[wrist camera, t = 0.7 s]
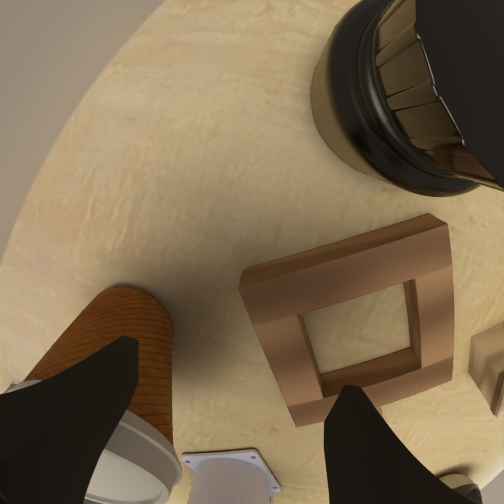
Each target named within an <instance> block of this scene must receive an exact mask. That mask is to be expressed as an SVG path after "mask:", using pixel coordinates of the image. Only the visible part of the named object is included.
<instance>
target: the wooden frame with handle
mask: <svg viewBox="0 0 504 504" xmlns="http://www.w3.org/2000/svg"><path fill="white" fill-rule="evenodd" d="M403 282H404V287H405V295H406V303H407V312H408V322H409V332H410V345H411V347H410V348H407V349H404V350H401V351H398V352H396V353H393V354H390V355H387V356H383V357H380V358H377V359H374V360H371V361H368V362H364V363H361V364H358V365H354V366H351V367H347V368H344V369H340V370H337V371H333V372H329V373H325V374H321V375H320V373H319V370H318V366H317V363H316V360H315V357H314V353H313V350H312V347H311V344H310V341H309V337H308V334H307V331H306V328H305V325H304V321H303V318H302V315H301V313H305V312H309V311H312V310H316V309H319V308H323V307H326V306H330V305H333V304H336V303H340V302H343V301H347V300H350V299H353V298H356V297H360V296H363V295H366V294H369V293H372V292H375V291H379V290H382V289H385V288H388V287H391V286H394V285H397V284H400V283H403ZM238 289H239V291H240V294H241V296H242V299H243V301H244V304H245V306H246V309H247V311H248V314H249V316H250V319H251V321H252V324H253V326H254V328H255V331H256V333H257V336H258V338H259V341H260V343H261V346H262V348H263V350H264V353H265V355H266V358H267V360H268V362H269V365H270V367H271V370H272V372H273V374H274V377H275V379H276V381H277V384H278V386H279V388H280V391H281V393H282V395H283V398H284V400H285V402H286V405H287V407H288V409H289V412H290V414H291V416H292V419H293V421H294V423H295V426H296V427H300V426H305V425H309V424H314V423H319V422H323V421H325V419H326V417H327V416H328V414H329V412H330V410H331V408H332V407H333V405H334V403H335V401H336V399H337V397H338V396H339V394H340V392H341V390H342V388H343V386H344V385H352V386H360V387H361V388H362V390H363V391H364V392H365V394H366V395H367V397H368V398H369V399H370V401H371V402H372V404H373V405H374V406H375V408H376V409H377V411H378V412H379V413H380V415H381V416H382V414H381V406H382V405H385V404H389V403H392V402H395V401H398V400H401V399H403V398H406V397H409V396H412V395H415V394H418V393H420V392H423V391H426V390H428V389H431V388H433V387H436V386H438V385H441V384H443V383H446V382H448V381H450V380H452V370H453V353H454V289H453V271H452V258H451V248H450V238H449V230H448V224H447V223H445V222H443V221H442V220H440V219H438V218H436V217H435V216H433V215H431V214H426V215H423V216H419V217H416V218H413V219H410V220H407V221H404V222H400V223H397V224H394V225H391V226H387V227H384V228H381V229H378V230H375V231H371V232H368V233H365V234H362V235H358V236H355V237H352V238H348V239H345V240H342V241H339V242H335V243H332V244H329V245H325V246H322V247H319V248H315V249H312V250H309V251H305V252H302V253H299V254H295V255H292V256H289V257H285V258H282V259H279V260H275V261H272V262H268V263H265V264H262V265H258V266H255V267H251V268H248V269H245V270H243V272H242V276H241V279H240V283H239V287H238Z"/></svg>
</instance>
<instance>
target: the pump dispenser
mask: <svg viewBox="0 0 504 504" xmlns="http://www.w3.org/2000/svg"><path fill="white" fill-rule="evenodd" d="M438 479H440V480H441V481H442V482H443V483H445V484H446V485H447V486H449V487H450V488H452V489H453V490H455V491H456V492H458V493H459V494H461V495H462V496H464V497H466V498H467V499H469V500H471V501H473V502H475V503H477V504H483V503H482V498H481V493H480V490H479V487H478V485H477V484H474V483H473V481H472V480H471V479H470V478H468V477H467V476H465V475H461V474H450V475H445V476H442V477H440V478H438Z"/></svg>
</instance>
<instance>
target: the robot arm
mask: <svg viewBox="0 0 504 504" xmlns="http://www.w3.org/2000/svg"><path fill="white" fill-rule="evenodd" d="M138 382H139V340H137V339H134V338H131V337H128V336H124V335H122V336H120V337H119V338H117V339H115V340H114V341H112V342H111V343H109V344H108V345H106V346H104V347H103V348H101V349H100V350H98V351H97V352H95V353H93V354H92V355H90V356H88V357H87V358H85V359H84V360H82V361H80V362H79V363H77V364H75V365H73V366H71V367H69V368H68V369H66V370H64V371H62V372H60V373H58V374H56V375H54V376H52V377H50V378H48V379H45V380H43V381H41V382H38V383H36V384H33V385H30V386H28V387H24V388H21V389H18V390H14V391H11V392H8V393H4V394H0V504H83V501H84V498H85V495H86V492H87V489H88V486H89V484H90V481H91V478H92V475H93V473H94V470H95V468H96V465H97V463H98V460H99V458H100V456H101V454H102V452H103V450H104V448H105V446H106V444H107V443H108V441H109V439H110V437H111V436H112V434H113V432H114V430H115V429H116V427H117V425H118V423H119V422H120V420H121V418H122V416H123V415H124V413H125V411H126V409H127V408H128V406H129V404H130V402H131V399H132V397H133V395H134V392H135V390H136V387H137V385H138ZM324 453H325V462H326V471H327V480H328V489H329V504H477V503H475V502H473V501H471V500H469V499H467V498H466V497H464V496H462V495H461V494H459V493H458V492H456V491H455V490H453V489H452V488H450V487H449V486H447V485H446V484H445V483H443V482H442V481H441V480H440V479H438V478H437V477H436V476H435V475H433V474H432V473H431V472H430V471H429V470H428V469H427V468H426V467H425V466H424V465H423V464H421V463H420V462H419V461H418V460H417V459H416V458H415V457H414V456H413V454H412V453H411V452H410V451H409V450H408V449H407V448H406V447H405V445H404V444H403V443H402V442H401V441H400V440H399V438H398V437H397V436H396V435H395V433H394V432H393V431H392V430H391V428H390V427H389V426H388V424H387V423H386V422H385V420H384V419H383V418H382V416H381V415H380V413H379V412H378V411H377V409H376V408H375V406H374V405H373V404H372V402H371V401H370V399H369V398H368V397H367V395H366V394H365V392H364V391H363V390H362V388H361V387H360V386H352V385H344V386H343V388H342V390H341V392H340V394H339V396H338V397H337V399H336V401H335V403H334V405H333V407H332V408H331V410H330V412H329V414H328V416H327V417H326V419H325V421H324ZM181 459H182V460H183V461H184V462H185V464H186V465H187V466H188V467H189V468H190V469H191V470H192V471H193V472H194V473H195V475H194V479H193V483H192V487H191V490H190V494H189V498H188V502H187V504H273V493H280V492H282V488H281V486H280V485H279V484H278V482H277V481H276V479H275V478H274V476H273V475H272V473H271V472H270V470H269V469H268V467H267V466H266V464H265V463H264V461H263V459H262V458H261V456H260V455H259V453H258V452H257V451H256V450H254V449H248V450H238V451H228V452H215V453H197V454H182V455H181Z"/></svg>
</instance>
